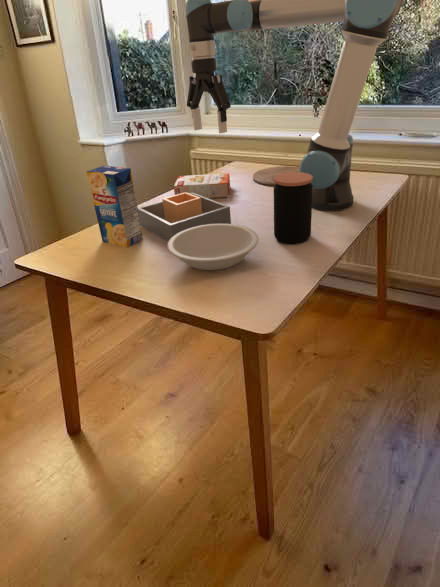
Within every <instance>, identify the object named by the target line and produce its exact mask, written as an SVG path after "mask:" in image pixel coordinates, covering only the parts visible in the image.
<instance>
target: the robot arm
mask: <svg viewBox="0 0 440 587" xmlns="http://www.w3.org/2000/svg"><path fill="white" fill-rule="evenodd" d="M403 2H404V0H252V1H251V0H225V1H219V2H212V0H185V3H184V4H185V19H186V25H187V34H188V42H189V51H190V58H192V60H191V62H190V64H191V72H192V73H193V74H195V75H190V76H189V80H188V81H189V86H188V93H187V101H186V107H187V108H190V110H191V115H192V121H193V129H194V131H199V130H202V129H203V127H202V126H203V125H202V124H203V123H202V116H201V115H202V114H201V109H200V108H201V107H200V106H199V105H200V103H201V100H202V97H203V94H204V92H205V93H208V94H209V96H211V99H212V100H213V102H214V104H215V105H216V107H217V114H216V115H217V124H218V134H225V133H228V127H227V124H228V123H227V120H228V118H227V117H228V116H227V110H228V109H231V107H232V106H231V102H230V100H229V97H228V94H227V90H226V88H225V86H224V83H223V76H222V74H216V75H215V72H216V71H217V60H216V57H214V56H215V55H216V46H215V38H214V34H222V33H232V32H233V33H234V32H239V33H240V32H255V31H260V30H268V29H280V28H290V27H291V28H292V27H301V26H310V25H322V24H330V23H342V26H341V29H340V31H341V33H342V36H343V38H344V40H343V43H342V44H343V45H342V47H341V52H340V54H339V59H338V61H337V64H336V68H335V71H334V72H335V73H334V75H333V79H332V83H331V85H330V89H329V92H328V95H327V96H328V97H327V99H326V104H325V106H324V111H323V114H322V117H321V120H320V124H319V127H318V130H317V132H316V133H314V134H313V135H311V137H310V140H309V144H308V147H307V152H306V154H305V155H304V157H303V158H302V159H301V162H300V165H299V167H300V172H302V173H308V174H310V175H312V176H313V180H312V182H311V184H312V186H313V191H312V209H316V210H318V211H330V212H331V211H334V212H335V211H342V210H346V209H349V208H351V207H352V206H353V205H354V198H355V197H354V194H353V190H352V186H351V182H350V181H351V167H352V157H353V156H352V155H353V146H354V139H353V138H354V137H353V136H352V135H351V134H350V131H351V127H352V124H353V121H354V118H355V115H356V112H357V110H358V106H359V103H360V100H361V97H362V96H363V95H362V94H363V91H364V88H365V86H366V82H367V79H368V76H369V73H370V69H371V67H372V64H373V61H374V57H375V55H376V52H377V48H378V46H380V45H381V44H382V43H384V42H385V41H387V38H388V34H389V31H390V28H391V25H392V23H393V20H394V19H395V17H396V16H397V15H398V14H399V12H400V11H401V8H402V5H403Z"/></svg>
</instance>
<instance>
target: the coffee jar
mask: <svg viewBox="0 0 440 587" xmlns="http://www.w3.org/2000/svg"><path fill="white" fill-rule="evenodd" d="M312 180H313V176H312V175H310V174H308V173H302V172H288V173H282V174H279V175H276V176H275V177H274V182H275V186H274V187H273V235H274V238H275V239H276V240H277V241H278V242H279V243H281V244H284V245H300V244H303V243H305V242H308V240H309V239H310V237H311V235H312V217H313V216H312V214H313V208H312V191H313V186H312V184H311V182H312Z"/></svg>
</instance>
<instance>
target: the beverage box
mask: <svg viewBox="0 0 440 587" xmlns="http://www.w3.org/2000/svg"><path fill="white" fill-rule="evenodd" d="M86 174H87V179H88V183H89V184H88V185H89V188H90V189H89V190H90V192H91V199H92V201H93V205H94V211H95V215H96V219H97V220H96V221H97V224H98V228H99V232H100V233H99V234H100V236H101V241H102V243H107V244H111V245H115V246H118V247H124V248H127V249H128V248H130V247H132V246H134V245H136V244H137V243H139V242H141V241H142V240H144V237H143V232H142V228H141V227H142V226H141V225H140V220H139V214H138V208H139V207H138V203H137V197H136V190H135V188H134V187H135V185H134V181H133V175H132V168H130V167H122V166H121V167H120V166H111V165H102V166H99V167H95V168H93V169H90V170H86Z"/></svg>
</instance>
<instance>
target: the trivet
mask: <svg viewBox="0 0 440 587" xmlns="http://www.w3.org/2000/svg"><path fill="white" fill-rule="evenodd" d="M288 172H300V166H289V165H287V166H286V165H285V166H282V165H281V166H273V167H266V168H263V169H259V170H258V171H255V172H254V173H253V174H252V181H253V182H254V183H255V184H258V185H261V186H265V187H273V188H274V186H275V182H274V177H275V176H276V175H279V174H282V173H288Z"/></svg>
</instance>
